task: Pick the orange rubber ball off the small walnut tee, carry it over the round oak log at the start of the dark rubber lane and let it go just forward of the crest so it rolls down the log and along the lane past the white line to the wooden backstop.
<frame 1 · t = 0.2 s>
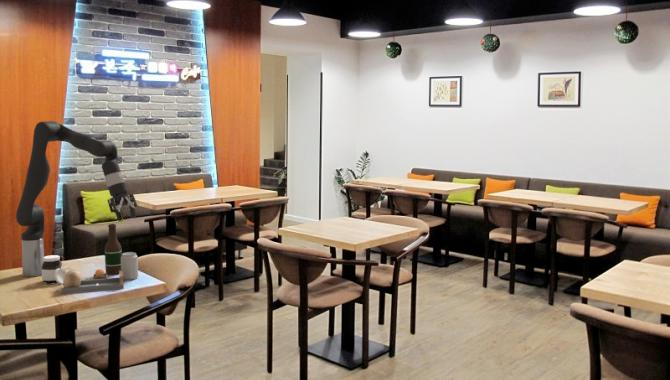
hand: (127, 218, 275), 31 cm above the table, tool tilted 20°, fingers open, 8 cm apart
backstop: (121, 285, 281), on the table
can: (130, 278, 292), on the table
beer bottle: (114, 273, 301), on the table
spread jar: (56, 282, 286), on the table
ball: (99, 273, 286), point 4 cm above the table, touching tee
log: (73, 289, 274), resting on lane
lane: (91, 287, 277), on the table
tee: (100, 281, 287), on the table
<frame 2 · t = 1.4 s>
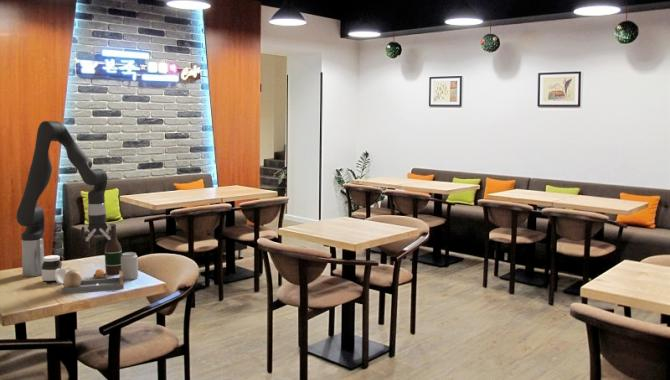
hand: (98, 248, 285), 16 cm above the table, tool pointing down, fingers open, 8 cm apart
nothing on the table moved.
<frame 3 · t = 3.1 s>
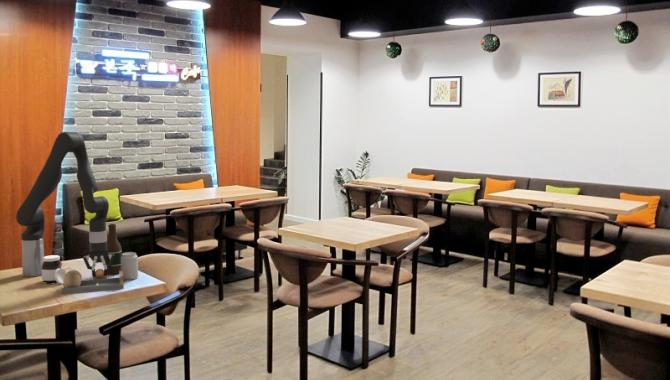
hand: (99, 277, 286), 2 cm above the table, tool pointing down, fingers closed on ball, 4 cm apart
ball: (99, 273, 286), point 4 cm above the table, touching gripper, tee
everything else where it was.
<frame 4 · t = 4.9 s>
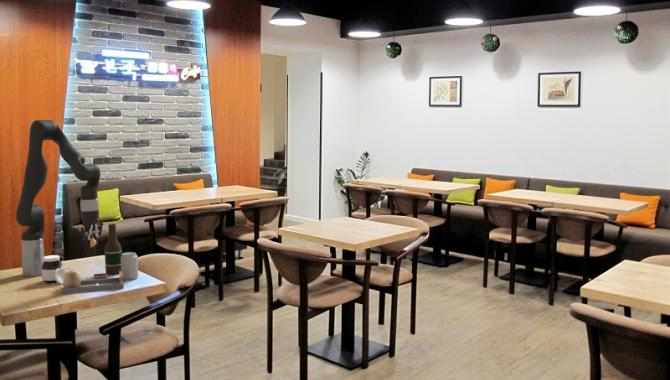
hand: (91, 246, 281), 17 cm above the table, tool pointing down, fingers closed on ball, 4 cm apart
ball: (91, 242, 280), point 19 cm above the table, touching gripper
everything else where it was.
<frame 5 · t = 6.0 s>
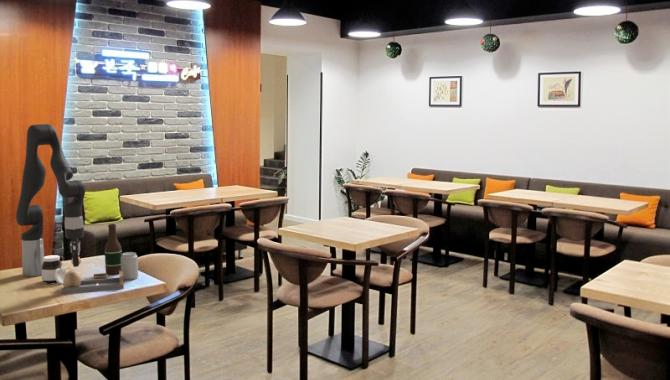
hand: (76, 265, 273), 11 cm above the table, tool pointing down, fingers closed on ball, 4 cm apart
ball: (76, 260, 273), point 13 cm above the table, touching gripper
everything else where it was.
when the fingers open (8 cm above the table, at t = 6.6 s): ball drops 7 cm and tips over, resting on lane.
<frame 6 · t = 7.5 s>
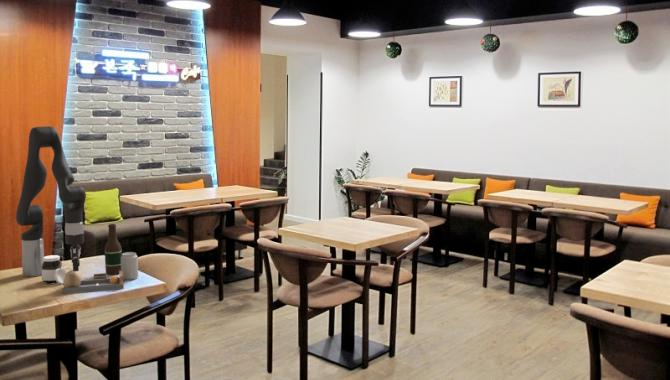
hand: (76, 268, 274), 9 cm above the table, tool pointing down, fingers open, 8 cm apart
ball: (114, 280, 280), point 3 cm above the table, tilted 138°, touching lane
everything else where it was.
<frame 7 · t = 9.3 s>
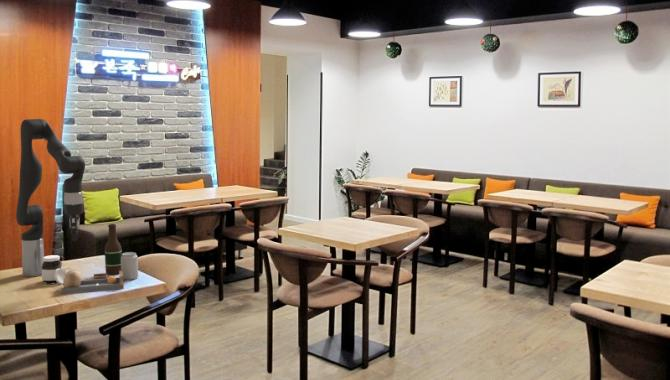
hand: (75, 239, 273), 22 cm above the table, tool pointing down, fingers open, 8 cm apart
ball: (111, 280, 279), point 3 cm above the table, tilted 109°, touching lane
everything else where it was.
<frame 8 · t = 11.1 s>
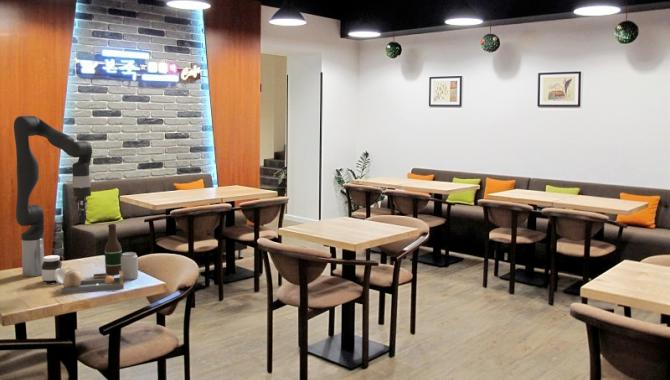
hand: (83, 221, 283), 28 cm above the table, tool pointing down, fingers open, 8 cm apart
ball: (109, 280, 279), point 3 cm above the table, tilted 80°, touching lane
everything else where it was.
at the end: ball inside the target area (0.2 cm from its centre), point 2.6 cm above the table; the gripper is holding nothing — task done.
